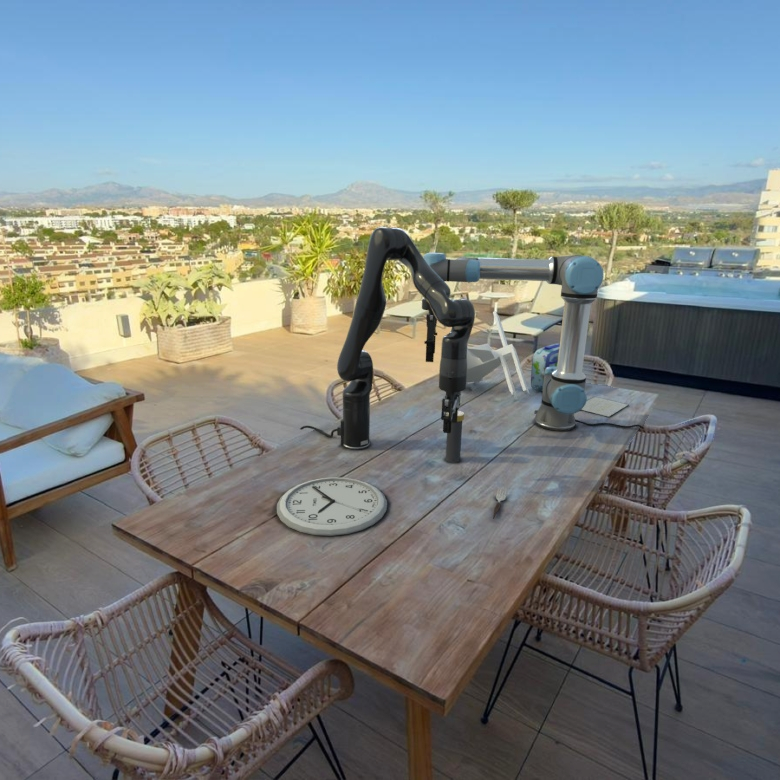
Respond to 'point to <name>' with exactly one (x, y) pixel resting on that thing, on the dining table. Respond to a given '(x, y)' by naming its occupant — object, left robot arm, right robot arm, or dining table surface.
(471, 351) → the white plastic object
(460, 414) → the lid
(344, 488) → the wall clock
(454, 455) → the dark grey cylinder
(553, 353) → the lunch box
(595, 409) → the invitation card
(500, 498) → the fork
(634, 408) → the dining table surface
